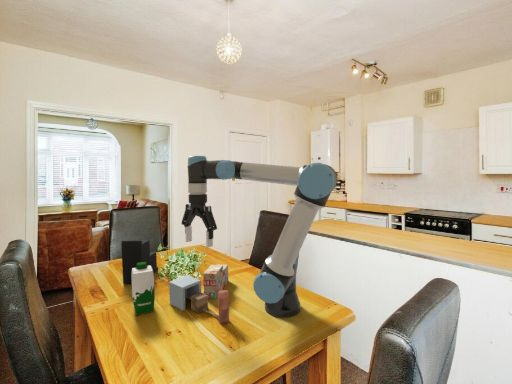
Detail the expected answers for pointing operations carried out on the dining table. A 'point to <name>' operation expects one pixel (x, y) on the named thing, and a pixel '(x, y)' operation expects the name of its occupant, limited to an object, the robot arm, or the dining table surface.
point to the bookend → (136, 257)
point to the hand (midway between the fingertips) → (198, 244)
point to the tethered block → (201, 304)
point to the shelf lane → (183, 290)
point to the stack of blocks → (215, 280)
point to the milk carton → (143, 288)
